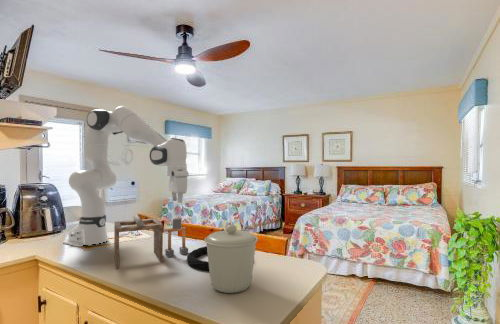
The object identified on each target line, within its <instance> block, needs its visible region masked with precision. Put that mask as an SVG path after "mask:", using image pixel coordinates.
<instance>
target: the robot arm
mask: <svg viewBox="0 0 500 324" xmlns="http://www.w3.org/2000/svg"><path fill="white" fill-rule="evenodd" d="M86 123H87V129H86V132H85V137H84V146H83V148H84V149H83V159H84V160H85V161H86V162H88V163H89V165H90V168H91V169H81V170H77V171H73V172H72V173H71V174H70V176H69V179H68V185H69V187H70V188H71V189H72V190H74V191H75V192H76V193H77V195H78V197H79V198H80V202H81V217H79V218H77V221H79V222H78V224H77V225H76V226H74V227H72V229H70V231H69V232H68V237H67V239H64V240H63V241H62V244H64V245H70V246H73V247H84V246H83V245H88V246H93V245H92V244H96V245H100V244H99V243H101V244H104V243H103V242H105V243H107V242H109V236H108V232H107V224H106V222H107V215H106V200H105V199H104V198H103V197H102V196H101V197H100V195H99V193H98V191H99V190H106V189H109V188H112V187H114V186H115V184H116V183H117V175H116V173H115V172H114V171H113V170H112V169H111V167H110V165H109V161H108V149H109V148H108V147H109V146H108V145H109V137H110V135H112V134H113V136H114V135H118V134H123V133H124V134H125V135H126V136H127V137H129V139H130V138H131V139H133V140H137V141H141V142H145V143H148V144H151V145H152V146H153V147H152V148H151V150H150V151H149V154H148V155H149V159H150V162H151V163H152V164H153V165H155V166H160V167H161V166H162V167H163V166H164V167H166V169H167V170H166V177H169V178H168V191H170V192H171V195H172V202H177V203H178V204H182V203H183V197H184V194H185V195H186V193H187V192H188V177H189V171H188V169H187V168H188V167H187V157H188V155H187V153H188V152H187V143H186V141H185V140H184V139H182V138H176V137H170V138H168V139H165V138H164V137H163V136H162V135H161V134H160V133H158V132H157V131H155V130H154V129H153V127H151V126H150V125H149V124H147V123H146V121H145V120H143V118H141V117H140V116H139V115H138V114H137V113H136V112H135V111H133V110H132V109H131V108H129V107H127V106H125V105H120V106H118V107H116V108H115V109H114V110H113V111H112V110H111V111H110V110H105V109H92V110H90V111H89V112H88V113H87V115H86ZM106 241H107V242H106Z"/></svg>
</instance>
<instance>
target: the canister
mask: <svg viewBox="0 0 500 324" xmlns="http://www.w3.org/2000/svg"><path fill="white" fill-rule="evenodd" d="M258 240H259V238H258V236H257V235H254V233H252V232H250V231H247V230H246V231H245V230H238V228H237V226H236V225H235V224H228V225H226V228H225V230H219V231H214V232H211V233H210V234H209V235H207V236H206V237H205V238H204V243H206V246H207V253H208V254H207V260H208V261H207V262H208V263H209V271H208V272H209V277H210V282H211V285H212V287H213V288H214V289H215V290H216V291H218V292H221V293H225V294H234V293H235V294H237V293H241V292H244V291H245V290H246V289H247V290H248V288H249V287H250V285H251V282H252V279H253V271H254V264H255V255H256V254H255V253H256V244H257V242H258Z"/></svg>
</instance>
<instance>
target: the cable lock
mask: <svg viewBox="0 0 500 324" xmlns="http://www.w3.org/2000/svg"><path fill="white" fill-rule="evenodd" d="M204 255H208V253H207V245H205V246H202V247H198V248H196V249H193V250H192V251H190V252H188V254H187V256H186V262H187V265H189V266H190V267H192V268H193V269H195V270H198V271H200V270H201V271H206V272H210V271H209V263H208V261H205V260H200V259H197V258H199V257H201V256H204Z"/></svg>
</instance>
